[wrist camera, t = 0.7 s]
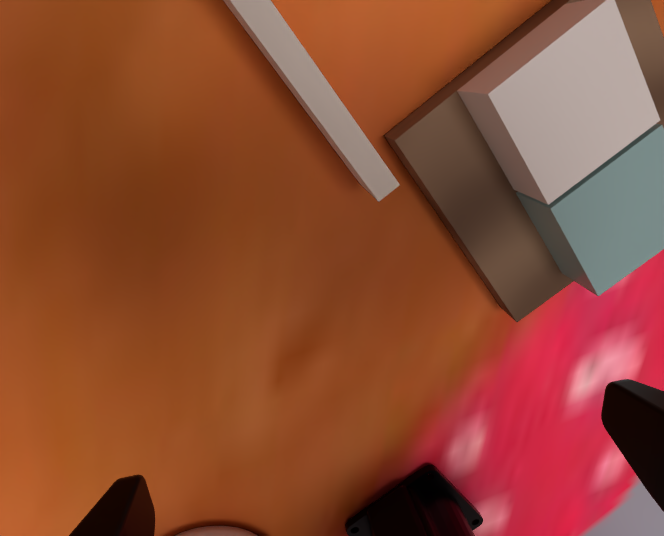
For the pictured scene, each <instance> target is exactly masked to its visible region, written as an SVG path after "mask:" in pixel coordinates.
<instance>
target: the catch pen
mask: <svg viewBox="0 0 664 536" xmlns="http://www.w3.org/2000/svg"><path fill="white" fill-rule="evenodd" d="M223 1H224V2H225V3H226V5H227V6H228V8H229V9H230V10H231V12H232V13H233V14H234V16H235V17H236V18H237V20H238V21H239V22H240V24H241V25H242V26H243V28H244V29H245V30H246V32H247V33H248V34H249V36H250V37H251V38H252V40H253V41H254V42H255V44H256V45H257V46H258V48H259V49H260V50H261V52H262V53H263V55H264V56H265V57H266V59H267V60H268V61H269V63H270V64H271V65H272V67H273V68H274V69H275V71H276V72H277V73H278V75H279V76H280V77H281V79H282V80H283V81H284V83H285V84H286V85H287V87H288V88H289V89H290V91H291V92H292V93H293V95H294V96H295V97H296V99H297V100H298V102H299V103H300V104H301V106H302V107H303V108H304V110H305V111H306V112H307V114H308V115H309V116H310V118H311V119H312V120H313V122H314V123H315V124H316V126H317V127H318V128H319V130H320V131H321V132H322V134H323V135H324V136H325V138H326V139H327V140H328V142H329V143H330V144H331V146H332V147H333V149H334V150H335V151H336V153H337V154H338V155H339V157H340V158H341V159H342V161H343V162H344V163H345V165H346V166H347V167H348V169H349V170H350V171H351V173H352V174H353V175H354V177H355V178H356V179H357V181H358V182H359V183H360V185H362V186H363V187H364V188H365V189H366V190H367V191H368V192H369V193H370V194H371V195H372V196H373V197H374V198H375V199H376V200H377V201H378V202H379V201H380V200H381V199H383V198H384V197H385V196H387V195H388V194H389V193H390V192H392V191H393V190H394V189H395V188H397V187H398V186H399V185H400V184H399V183H398V181H397V180H396V179H395V177H394V176H393V174H392V173H391V171H390V170H389V169H388V167H387V166H386V164H385V163H384V161H383V160H382V159H381V157H380V156H379V154H378V153H377V151H376V150H375V149H374V147H373V146H372V144H371V143H370V141H369V140H368V139H367V137H366V136H365V134H364V133H363V131H362V130H361V129H360V127H359V126H358V124H357V123H356V121H355V120H354V119H353V117H352V116H351V114H350V113H349V111H348V110H347V109H346V107H345V106H344V104H343V103H342V101H341V100H340V99H339V97H338V96H337V94H336V93H335V91H334V90H333V89H332V87H331V86H330V84H329V83H328V81H327V80H326V79H325V77H324V76H323V74H322V73H321V71H320V70H319V69H318V67H317V66H316V64H315V63H314V61H313V60H312V59H311V57H310V56H309V54H308V53H307V51H306V50H305V49H304V47H303V46H302V44H301V43H300V41H299V40H298V39H297V37H296V36H295V34H294V33H293V31H292V30H291V29H290V27H289V26H288V24H287V23H286V21H285V20H284V19H283V17H282V16H281V14H280V13H279V12H278V10H277V9H276V7H275V6H274V4H273V3H272V2H271V0H223Z"/></svg>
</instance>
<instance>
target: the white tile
mask: <svg viewBox="0 0 664 536" xmlns="http://www.w3.org/2000/svg"><path fill="white" fill-rule="evenodd" d="M457 92H458V93H459V95H460V97H461V99H462V100H463V102H464V104H465V106H466V107H467V109H468V111H469V113H470V114H471V116H472V118H473V120H474V121H475V123H476V125H477V126H478V128H479V130H480V132H481V133H482V135H483V137H484V139H485V140H486V142H487V144H488V146H489V147H490V149H491V151H492V153H493V154H494V156H495V158H496V159H497V161H498V163H499V165H500V166H501V168H502V170H503V172H504V173H505V175H506V177H507V179H508V180H509V182H510V184H511V186H512V187H513V189H514V190H516V191H518V192H521V193H523V194H525V195H527V196H530V197H532V198H534V199H536V200H539V201H541V202H543V203H545V204H548V205H549V204H550V203H552V202H553V201H554V200H555V199H557V198H558V197H559V196H561V195H562V194H563V193H565V192H566V191H567V190H569V189H570V188H571V187H573V186H574V185H575V184H577V183H578V182H579V181H581V180H582V179H583V178H585V177H586V176H587V175H589V174H590V173H591V172H593V171H594V170H595V169H597V168H598V167H599V166H601V165H602V164H603V163H604V162H606V161H607V160H608V159H610V158H611V157H612V156H614V155H615V154H616V153H618V152H619V151H620V150H622V149H623V148H624V147H626V146H627V145H628V144H630V143H631V142H632V141H634V140H635V139H636V138H638V137H639V136H640V135H642V134H643V133H644V132H646V131H647V130H648V129H650V128H651V127H652V126H653V125H655V124H656V123H657V122H659V121H660V118H659V115H658V113H657V110H656V107H655V105H654V102H653V99H652V97H651V94H650V91H649V89H648V86H647V84H646V81H645V78H644V76H643V73H642V70H641V68H640V65H639V63H638V60H637V57H636V55H635V52H634V49H633V47H632V44H631V42H630V39H629V36H628V34H627V31H626V28H625V26H624V23H623V20H622V18H621V15H620V13H619V10H618V7H617V5H616V2H615V0H584V1H578V2H573V3H568V4H564V5H563V6H562V7H561V8H560V9H558V10H557V11H556V12H555V13H553V14H552V15H551V16H550V17H548V18H547V19H546V20H545V21H543V22H542V23H541V24H540V25H538V26H537V27H536V28H535V29H533V30H532V31H531V32H530V33H528V34H527V35H526V36H525V37H523V38H522V39H521V40H520V41H518V42H517V43H516V44H515V45H513V46H512V47H511V48H510V49H508V50H507V51H506V52H505V53H503V54H502V55H501V56H500V57H498V58H497V59H496V60H495V61H493V62H492V63H491V64H490V65H488V66H487V67H486V68H485V69H483V70H482V71H481V72H480V73H478V74H477V75H476V76H475V77H473V78H472V79H471V80H470V81H468V82H467V83H466V84H465V85H463V86H462V87H461V88H460V89H458V90H457Z"/></svg>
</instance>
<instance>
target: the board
mask: <svg viewBox="0 0 664 536" xmlns="http://www.w3.org/2000/svg"><path fill="white" fill-rule="evenodd" d="M578 1H584V0H552V1H550V2H549V3H548V4H547V5H545V6H544V7H543V8H542V9H540V10H539V11H538V12H537V13H535V14H534V15H533V16H532V17H531V18H529V19H528V20H527V21H526V22H524V23H523V24H522V25H521V26H519V27H518V28H517V29H516V30H514V31H513V32H512V33H511V34H509V35H508V36H507V37H506V38H504V39H503V40H502V41H501V42H499V43H498V44H497V45H496V46H494V47H493V48H492V49H491V50H490V51H488V52H487V53H486V54H485V55H483V56H482V57H481V58H480V59H478V60H477V61H476V62H475V63H473V64H472V65H471V66H470V67H468V68H467V69H466V70H465V71H463V72H462V73H461V74H460V75H458V76H457V77H456V78H455V79H454V80H452V81H451V82H450V83H449V84H447V85H446V86H445V87H444V88H442V89H441V90H440V91H439V92H437V93H436V94H435V95H434V96H432V97H431V98H430V99H429V100H427V101H426V102H425V103H424V104H422V105H421V106H420V107H419V108H418V109H416V110H415V111H414V112H413V113H411V114H410V115H409V116H408V117H406V118H405V119H404V120H403V121H401V122H400V123H399V124H398V125H396V126H395V127H394V128H393V129H391V130H390V131H389V132H388V133H386V134H385V135H384V136H385V138H386V139H387V141H388V142H389V144H390V145H391V147H392V148H393V150H394V151H395V153H396V154H397V155H398V157H399V158H400V160H401V161H402V163H403V164H404V166H405V167H406V169H407V170H408V172H409V173H410V175H411V176H412V178H413V179H414V180H415V182H416V183H417V185H418V186H419V188H420V189H421V191H422V192H423V194H424V195H425V197H426V198H427V200H428V201H429V202H430V204H431V205H432V207H433V208H434V210H435V211H436V213H437V214H438V216H439V217H440V219H441V220H442V222H443V223H444V225H445V226H446V227H447V229H448V230H449V232H450V233H451V235H452V236H453V238H454V239H455V241H456V242H457V244H458V245H459V247H460V248H461V249H462V251H463V252H464V254H465V255H466V257H467V258H468V260H469V261H470V263H471V264H472V266H473V267H474V269H475V270H476V272H477V273H478V274H479V276H480V277H481V279H482V280H483V282H484V283H485V285H486V286H487V288H488V289H489V291H490V292H491V294H492V295H493V296H494V298H495V299H496V301H497V302H498V304H499V305H500V307H501V308H502V309H503V310H504V311H505V312H506V313H507V314H508V315H510V316H511V317H512V318H513V319H514V320H515V321H516V322H518V321H520V320H521V319H522V318H524V317H525V316H526V315H528V314H529V313H530V312H532V311H533V310H535V309H536V308H537V307H539V306H540V305H541V304H543V303H544V302H546V301H547V300H548V299H550V298H551V297H552V296H554V295H555V294H556V293H558V292H559V291H561V290H562V289H563V288H565V287H566V286H567V285H569V284H570V283H571V282H573V281H574V280H572V279H570V278H569V277H567V276H566V275H564V274H562V272H561V271H560V269H559V267H558V265H557V264H556V262H555V260H554V259H553V257H552V255H551V253H550V252H549V250H548V248H547V246H546V245H545V243H544V241H543V239H542V238H541V236H540V234H539V232H538V231H537V229H536V227H535V226H534V224H533V222H532V220H531V219H530V217H529V215H528V213H527V212H526V210H525V208H524V206H523V205H522V203H521V201H520V199H519V198H518V196H517V194H516V193H517V192H518V191H516V190H514V189H513V187H512V186H511V184H510V182H509V180H508V179H507V177H506V175H505V173H504V172H503V170H502V168H501V166H500V165H499V163H498V161H497V159H496V158H495V156H494V154H493V153H492V151H491V149H490V147H489V146H488V144H487V142H486V140H485V139H484V137H483V135H482V133H481V132H480V130H479V128H478V126H477V125H476V123H475V121H474V120H473V118H472V116H471V114H470V113H469V111H468V109H467V107H466V106H465V104H464V102H463V100H462V99H461V97H460V95H459V93H458V92H457V90H458V89H460V88H461V87H462V86H463V85H465V84H466V83H467V82H468V81H470V80H471V79H472V78H473V77H475V76H476V75H477V74H478V73H480V72H481V71H482V70H483V69H485V68H486V67H487V66H488V65H490V64H491V63H492V62H493V61H495V60H496V59H497V58H498V57H500V56H501V55H502V54H503V53H505V52H506V51H507V50H508V49H510V48H511V47H512V46H513V45H515V44H516V43H517V42H518V41H520V40H521V39H522V38H523V37H525V36H526V35H527V34H528V33H530V32H531V31H532V30H533V29H535V28H536V27H537V26H538V25H540V24H541V23H542V22H543V21H545V20H546V19H547V18H548V17H550V16H551V15H552V14H553V13H555V12H556V11H557V10H558V9H560V8H561V7H562V6H563V5H564V4H568V3H573V2H578ZM615 2H616V5H617V7H618V10H619V13H620V15H621V18H622V20H623V23H624V26H625V28H626V31H627V34H628V36H629V39H630V42H631V44H632V47H633V49H634V52H635V55H636V57H637V60H638V63H639V65H640V68H641V70H642V73H643V76H644V78H645V81H646V84H647V86H648V89H649V91H650V94H651V97H652V99H653V102H654V105H655V107H656V110H657V113H658V115H659V118H660V121H659V122H657V123H656V124H661V125H662V126H663V128H664V37H663V34H662V32H661V29H660V26H659V23H658V20H657V17H656V14H655V11H654V8H653V6H652V3H651V0H615Z"/></svg>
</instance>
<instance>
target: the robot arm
mask: <svg viewBox="0 0 664 536" xmlns="http://www.w3.org/2000/svg"><path fill="white" fill-rule="evenodd" d="M601 418H602V422H603V425H604V427H605V429H606V430H607V432H608V433H609V435H610V436H611V438H612V439H613V441H614V442H615V444H616V445H617V447H618V448H619V450H620V451H621V452H622V454H623V455H624V457H625V458H626V460H627V461H628V463H629V464H630V466H631V467H632V469H633V470H634V472H635V473H636V475H637V476H638V478H639V479H640V480H641V482H642V483H643V485H644V486H645V488H646V489H647V491H648V492H649V493H650V495H651V496H652V497H653V499H654V500H655V501H656V503H657V504H658V505H659V506H660V508H661V509H662V510H663V511H664V391H661V390H659V389H656V388H653V387H650V386H647V385H644V384H642V383H639V382H636V381H633V380H629V379H625V380H619V381H614V382H611V383H609V384H608V385H607V386H606V389H605V395H604V401H603V407H602V413H601ZM430 473H431V474H430ZM428 474H429V475H428ZM482 522H483V518H482V517H481V515H480V513H479V512H478V511H477V510H476V508H475V507H474V506H473V505H472V504H471V503H470V502H469V501H468V500H467V499H466V498H465V497H464V496H463V495H462V494H461V493H460V492H459V491H458V490H457V489H456V488H455V487H454V486H453V485H452V484H451V483H450V482H449V481H448V480H447V478H446V477H445V476H444V475H443V474H442V473H441V472H440V471H439V470H438V469H437V468H436V467H435V466H433V465H426V466H424V467H423V468H421V469H420V470H419V471H417V472H416V473H414V474H413V475H412V476H410V477H409V478H407V479H406V480H405V481H403V482H402V483H400V484H399V485H398V486H396V487H395V488H393V489H392V490H390V491H389V492H388V493H386V494H385V495H383V496H382V497H381V498H379V499H378V500H376V501H375V502H374V503H372V504H371V505H369V506H368V507H367V508H365V509H364V510H362V511H361V512H360V513H358V514H357V515H355V516H354V517H353V518H351V519H350V520H348V521H347V522H346V524H345V528H346V532H347V534H348V535H349V536H475V535H474V533H473V530H474V529H476V528H477V527H479V526H480V525H481V524H482ZM154 530H155V511H154V506H153V503H152V500H151V497H150V494H149V490H148V487H147V484H146V481H145V479H144V477H143V476H142V475H134V476H129V477H124V478H120V479H118V480H117V481H115V482H114V483H113V485H112V486H111V487H110V488H109V489H108V490H107V492H106V493H105V494H104V495H103V496H102V498H101V499H100V500H99V501H98V502H97V503H96V505H95V506H94V507H93V508H92V509H91V510H90V512H89V513H88V514H87V515H86V516H85V517H84V519H83V520H82V521H81V522H80V523H79V524H78V526H77V527H76V528H75V529H74V530H73V531H72V533H71V534H70V535H69V536H154Z"/></svg>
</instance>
